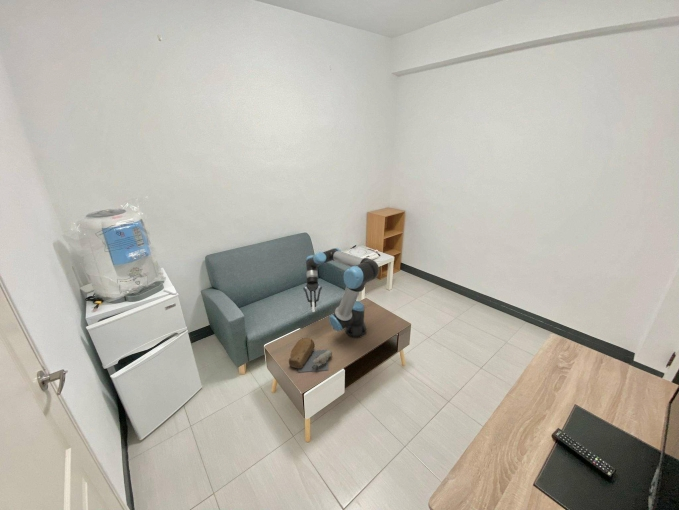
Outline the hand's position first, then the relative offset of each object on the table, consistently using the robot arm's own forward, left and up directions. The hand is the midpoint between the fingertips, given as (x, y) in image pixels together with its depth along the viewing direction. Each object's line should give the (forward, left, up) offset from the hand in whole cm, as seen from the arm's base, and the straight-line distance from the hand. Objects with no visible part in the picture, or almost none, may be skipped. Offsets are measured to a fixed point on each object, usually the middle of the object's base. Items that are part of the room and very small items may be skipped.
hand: (313, 312), depth 179 cm
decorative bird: (-5, +22, -23) cm, 32 cm away
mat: (+1, +19, -23) cm, 30 cm away
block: (+5, +7, -18) cm, 20 cm away
